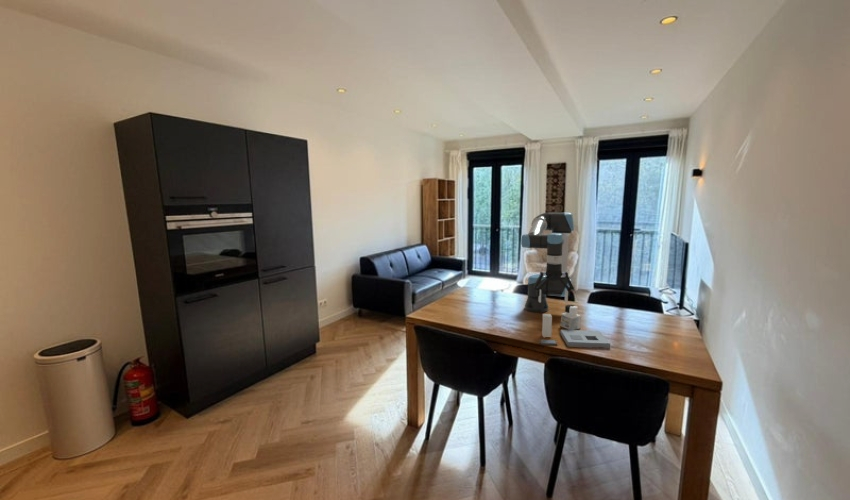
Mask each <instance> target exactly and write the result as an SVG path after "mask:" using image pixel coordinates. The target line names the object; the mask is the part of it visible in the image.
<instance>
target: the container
mask: <svg viewBox="0 0 850 500" xmlns="http://www.w3.org/2000/svg"><path fill="white" fill-rule="evenodd" d="M578 307H579V306H577V305H575V304H567V305H565V307H564V312H562V313H561V314H560V326H561V327H562V328H565V330H580V329H581V328H582V315H580V314H578V312H579V311H578Z"/></svg>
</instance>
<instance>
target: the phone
mask: <svg viewBox="0 0 850 500" xmlns="http://www.w3.org/2000/svg"><path fill="white" fill-rule="evenodd" d="M539 343H541V344H540V346H558V343H557V340H555V339H539Z"/></svg>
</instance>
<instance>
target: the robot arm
mask: <svg viewBox="0 0 850 500" xmlns="http://www.w3.org/2000/svg"><path fill="white" fill-rule="evenodd" d="M530 224H531V227H530V229H529V232H528V234H522V235H521V240H520V241H521V242H520V244H521V247H522V248H524V249H525V248H527V249H546V250H547V251H546V267H545V269H546V271H539V274H532V275H530V276H529V277H528V280H527V297H526V301H525V303H524V309H525V310H526V311H528V312H530V313H546V312H548V311H549V303H548V301H547V296H555V297H560V298H562V297H564V302H565V304H568V303H569V302H568V300H569V297H570V296H571V291H572V290H575V287H574V285H573V283H572V279H571V278H570V275H569V272H568V260H569V259H568V257H569V238H570V236H571V235H572V232H573V231H575V225H574V218H573V214H572V213H571V212H567V211H565V212H561V211H560V212H557V211H556V212H543V213H541V214H538V215H537V216H535V217H534V218H533V220H532V221H531V223H530ZM544 231H551V233H548V234H544Z"/></svg>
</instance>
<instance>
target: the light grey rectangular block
mask: <svg viewBox="0 0 850 500" xmlns="http://www.w3.org/2000/svg"><path fill="white" fill-rule="evenodd" d="M541 324H542V325H541V327H542V329H541V335H542V337H543V338H545V337H551V338H552V329H553V328H552V324H553V316H552V314H551V313H542V323H541Z"/></svg>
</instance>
